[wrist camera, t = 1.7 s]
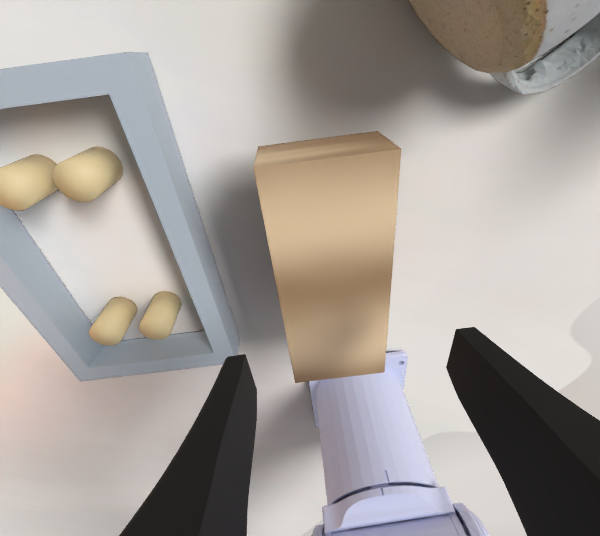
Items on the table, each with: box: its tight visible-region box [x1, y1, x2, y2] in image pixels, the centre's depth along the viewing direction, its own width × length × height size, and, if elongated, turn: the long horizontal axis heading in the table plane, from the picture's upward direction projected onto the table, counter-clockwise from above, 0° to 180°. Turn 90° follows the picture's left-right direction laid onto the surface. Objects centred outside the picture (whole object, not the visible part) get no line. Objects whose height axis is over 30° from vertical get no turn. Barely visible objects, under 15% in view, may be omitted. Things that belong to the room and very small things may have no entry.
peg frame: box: [0, 52, 240, 381], centre depth 17 cm, size 17×11×2 cm, turn 6°
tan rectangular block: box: [254, 131, 401, 383], centre depth 15 cm, size 12×5×3 cm, turn 6°
